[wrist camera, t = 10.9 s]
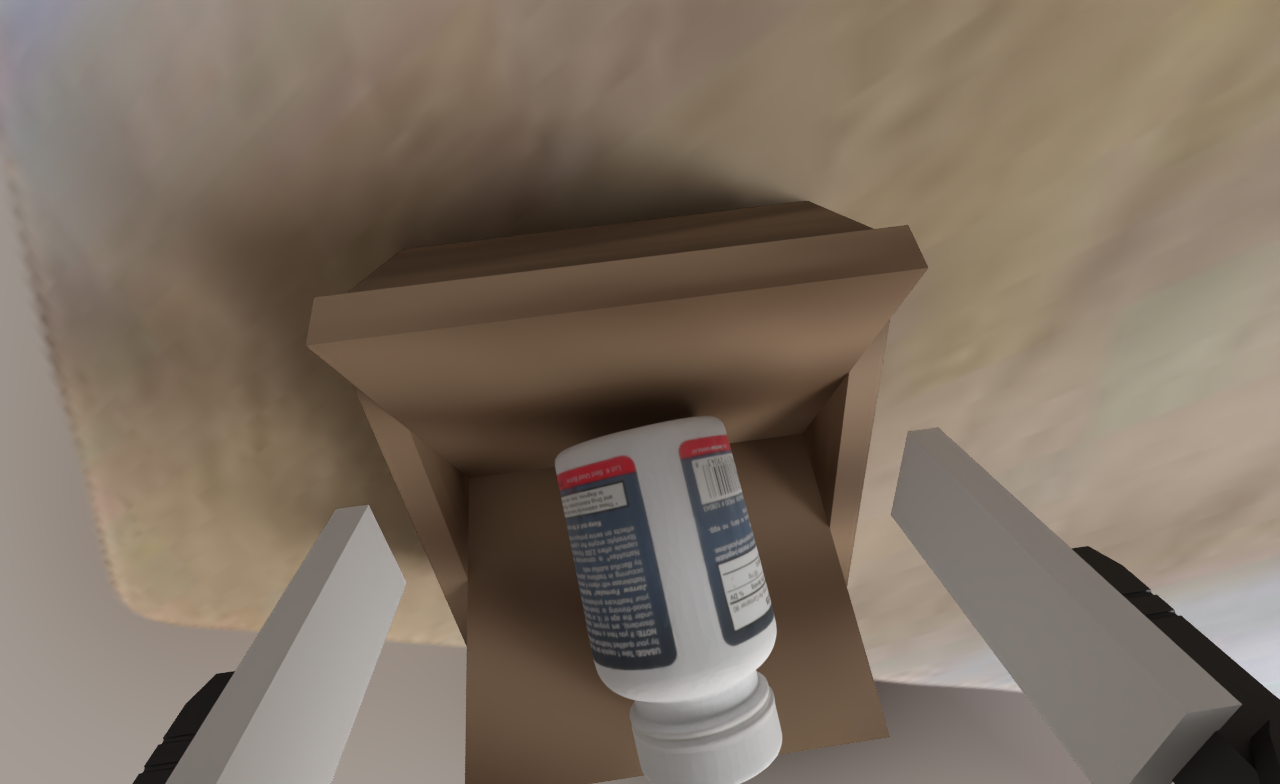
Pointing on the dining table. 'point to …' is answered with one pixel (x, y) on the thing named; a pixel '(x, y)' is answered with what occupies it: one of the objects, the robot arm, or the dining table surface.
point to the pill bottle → (675, 596)
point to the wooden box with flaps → (617, 401)
